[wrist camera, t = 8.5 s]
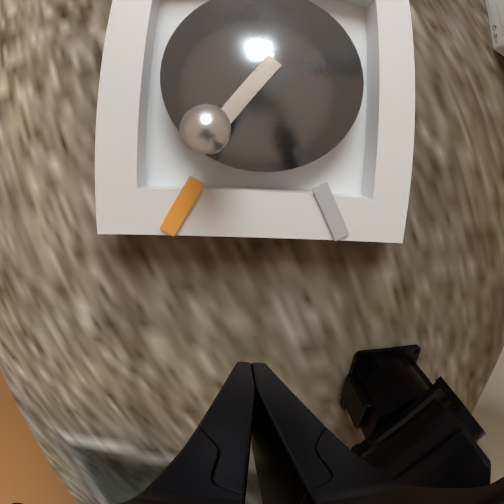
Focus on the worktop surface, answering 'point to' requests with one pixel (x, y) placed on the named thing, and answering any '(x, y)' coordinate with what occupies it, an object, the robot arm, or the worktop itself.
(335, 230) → the bezel
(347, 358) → the worktop surface
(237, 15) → the dial
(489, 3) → the supplement box
